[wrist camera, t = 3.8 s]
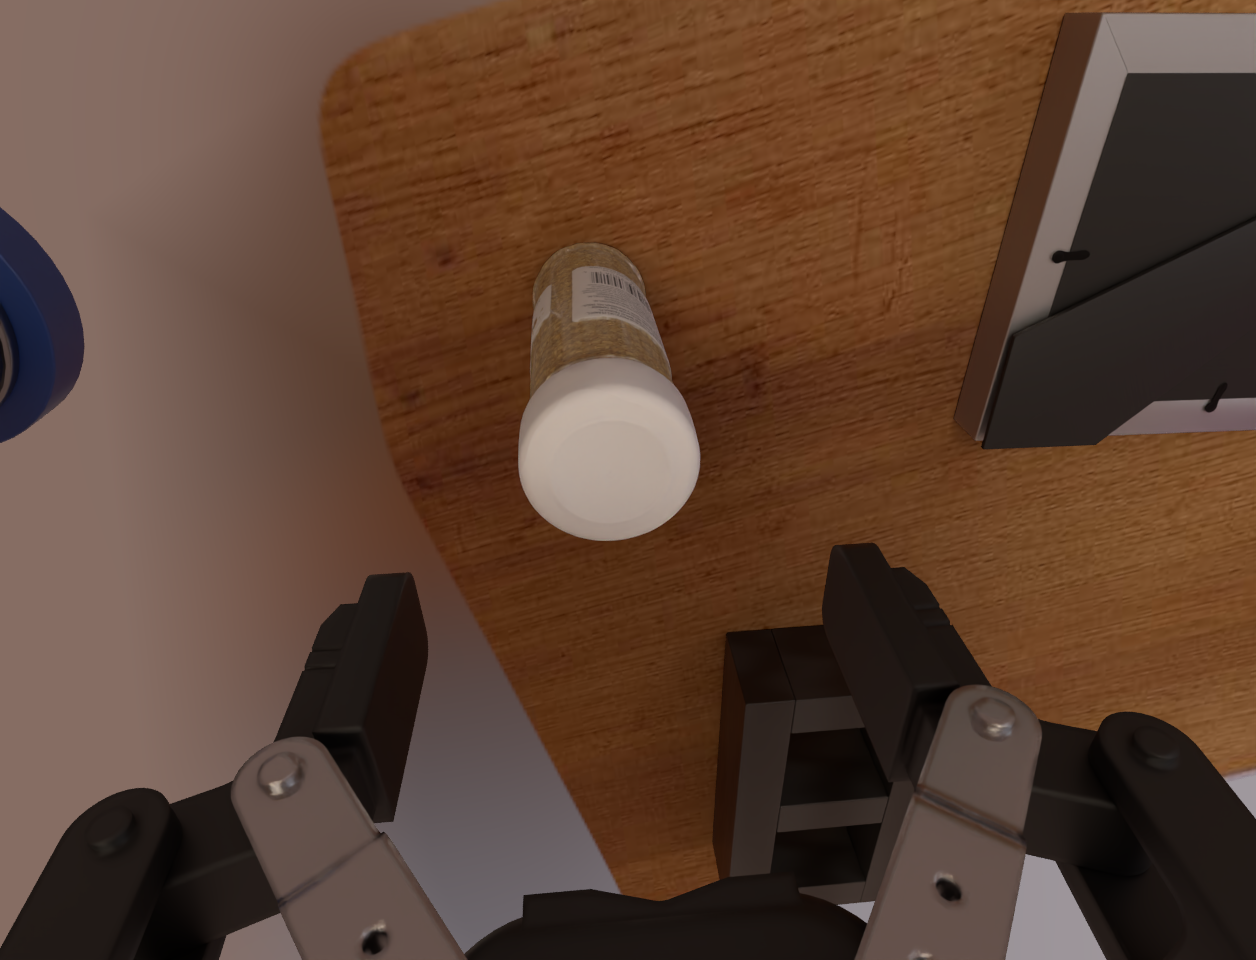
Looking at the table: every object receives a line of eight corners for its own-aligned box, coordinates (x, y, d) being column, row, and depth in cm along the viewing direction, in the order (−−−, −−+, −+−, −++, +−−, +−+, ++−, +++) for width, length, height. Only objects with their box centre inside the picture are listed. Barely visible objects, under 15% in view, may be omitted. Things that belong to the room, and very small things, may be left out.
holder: (712, 841, 50) (726, 915, 46) (725, 632, 40) (745, 704, 35) (869, 826, 51) (897, 899, 47) (925, 616, 40) (968, 686, 36)
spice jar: (509, 293, 29) (476, 470, 17) (594, 213, 27) (620, 349, 16) (587, 372, 31) (603, 576, 19) (670, 301, 29) (740, 477, 18)
